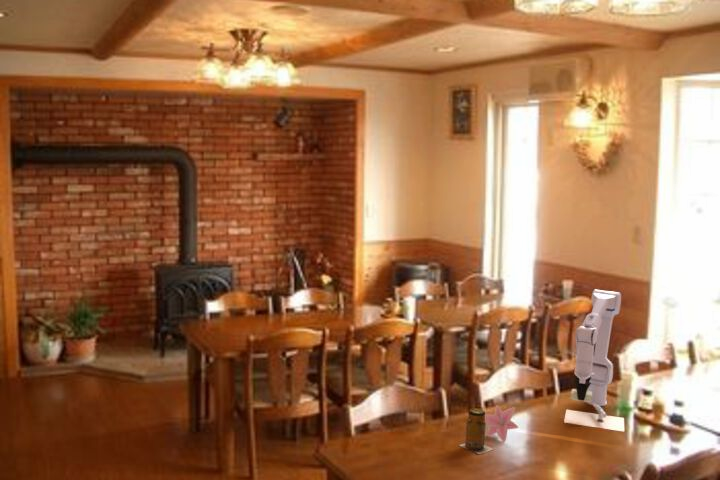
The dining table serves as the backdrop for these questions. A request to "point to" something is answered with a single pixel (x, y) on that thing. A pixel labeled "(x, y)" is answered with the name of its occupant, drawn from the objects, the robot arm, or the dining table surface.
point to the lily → (500, 422)
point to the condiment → (476, 432)
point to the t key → (600, 410)
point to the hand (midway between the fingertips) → (581, 397)
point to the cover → (587, 398)
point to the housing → (594, 420)
